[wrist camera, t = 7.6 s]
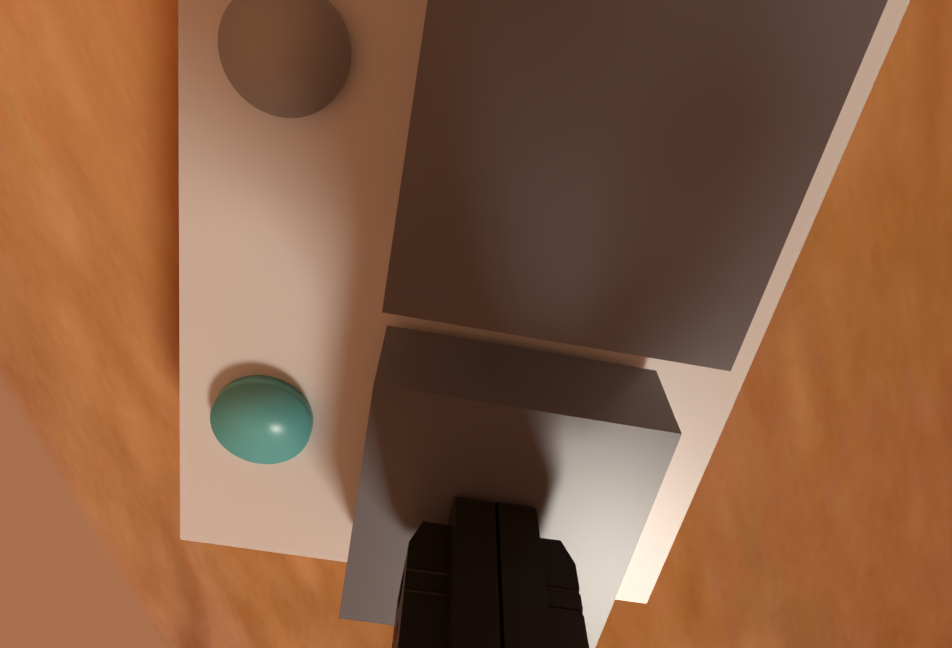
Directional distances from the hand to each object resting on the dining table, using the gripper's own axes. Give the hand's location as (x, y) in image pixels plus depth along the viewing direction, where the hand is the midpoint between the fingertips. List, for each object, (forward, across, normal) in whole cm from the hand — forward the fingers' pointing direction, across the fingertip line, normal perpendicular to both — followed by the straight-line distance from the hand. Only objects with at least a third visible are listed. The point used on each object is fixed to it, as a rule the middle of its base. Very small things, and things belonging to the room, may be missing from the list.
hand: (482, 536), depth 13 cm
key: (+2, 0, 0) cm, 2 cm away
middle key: (+1, 0, -7) cm, 8 cm away
